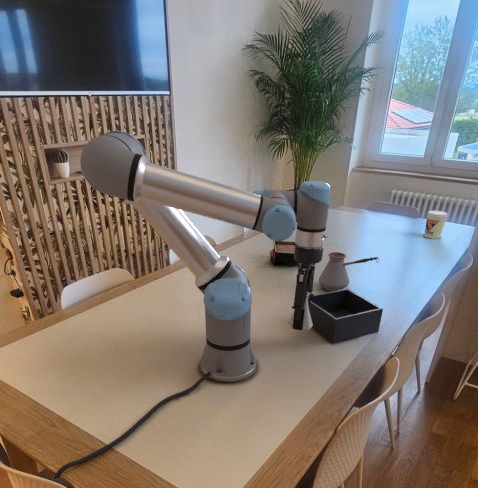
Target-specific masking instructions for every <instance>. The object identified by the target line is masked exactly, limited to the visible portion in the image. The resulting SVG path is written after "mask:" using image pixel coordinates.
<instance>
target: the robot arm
mask: <svg viewBox="0 0 478 488" xmlns="http://www.w3.org/2000/svg"><path fill="white" fill-rule="evenodd" d="M79 159H80V160H79V162H80V170H81V172H82V176H83V178H84V179H85V180H86V182H87V183H88V184H89V186H91V187H92V188H93V189H94V190H96V191H97V192H99V193H102V194H103V195H107V196H110V197H114V198H118V200H119V201H120V202H121V203H122V204H127V205H131V206H133V207H134V209H135V210H136V211H137V212H138V213H139V214H140V215H141V217H142V218H143V219H144V220H145V221H146V222H147V223H148V225H149V226H150V227H151V228H152V229H153V230H154V232H155V233H156V234H157V235H158V236H159V237H160V238H161V239H162V241H163V242H164V243H165V244H166V245H167V246H168V247H169V249H170V250H171V251H172V252H173V253H174V254H175V255H176V256H177V257H178V259H179V260H180V261H181V262H182V263H183V264H184V266H185V267H186V268H187V269H188V270H189V272H190V273H192V275H193V276H194V277H195V281H194V285H195V286H196V287H197V288H198V290H199V291H200V292H201V293H202V294H203V295H204V296H203V305H204V318H205V319H204V321H205V322H204V323H205V346H204V348H203V351H202V355H201V357H200V362H199V363H200V371H201V373H202V374H203V376H202V377H200V378H199V379H197V381H196V382H195V383H194V384H192V385H191V386H190V387H188V388H186V389H185V390H183V391H180V392H178V393H175V394H172V395H170V396H167V397H166V398H163V399H162V400H160V401H159V402H158V403H157V404H156V405H154V406H153V407H152V408H151V409H149V411H147V413H146V414H145V415H144V416H142V417H141V418H140V419H139V420H138V421H136V423H134V424H133V425H132V426H130V428H128V430H127V431H125V432H124V433H123V434H121V435H120V436H119V437H116V438H115V439H114V440H113V441H111V442H110V443H108V444H106V445H104V446H103V447H101V448H99V449H98V450H95V451H94V452H92V453H90V454H88V455H86V456H84V457H82V458H79V459H76V460H73V461H70V462H67V463H65V464H63V465H62V466H61V467H60V468H59V469H58V470H57V471H56V473H55V474H54V476H53V479H55V480H56V479H59V478H60V477H61V475H62V474H64V472H65V471H66V470H67V469H70V468H72V467H75V466H78V465H81V464H83V463H86V462H88V461H90V460H91V459H93V458H95V457H97V456H99V455H101V454H103V453H104V452H106V451H108V450H110V449H112V448H113V447H115V446H116V445H118V444H119V443H121V442H122V441H123V440H124V439H126V438H127V437H128V436H130V435H131V434H132V433H133V432H134V431H136V429H138V428H139V427H140V426H141V425H142V424H143V423H144V422H145V421H146V420H148V419H149V418H150V417H151V415H153V414H154V413H155V412H156V411H157V410H158V409H159V408H161V407H162V406H163V405H165V404H166V403H168V402H169V401H172V400H174V399H176V398H179V397H182V396H184V395H187V394H188V393H190V392H193V391H194V390H195V389H197V388H198V386H200V385H201V384H202V383H203V382H204V381H205V380H206V379H207V378H208V379H209V380H212V381H214V382H219V383H225V384H226V383H228V384H229V383H238V382H243V381H245V380H247V379H249V378H251V377H252V376H253V375H254V374H255V373H256V371H257V359H256V355H255V353H254V349H253V346H252V344H251V330H252V329H251V328H252V327H251V325H252V305H253V297H252V291H251V286H250V280H249V278H248V275H247V274H246V272H245V270H243V269H242V268H241V267H240V266H238V265H236V264H234V263H233V262H232V260H231V259H230V258H229V257H228V256H227V255H219V253H218V252H217V251H216V250H215V249H214V248H213V246H212V245H211V244H210V243H209V241H208V240H207V239H206V237H204V235H203V234H202V233H201V232H200V231H199V229H198V228H197V227H196V225H195V224H194V223H193V222H192V221H191V220H190V218H189V217H188V216H187V215H186V213H185V212H187V213H191V214H195V215H197V216H202V217H206V218H210V219H212V220H216V221H220V222H223V223H226V224H231V225H234V226H237V227H242V228H245V229H249V230H252V231H255V232H259V233H261V234H264V235H265V236H266V237H267V239H270V240H271V241H287V240H288V239H289V238H291V236H292V235H293V234H294V232H295V239H294V241H295V243H296V245H295V250H294V259H295V260H296V261H298V262H300V267H298V268H297V274H296V283H295V292H294V298H293V299H294V300H293V305H292V306H291V309H293V310H294V311H293V312H294V320H293V328H292V330H297V331H303V330H302V329H303V321H304V312H305V308H304V305H305V299H306V294H307V292H309V294H310V295H309V296H308V307H310V299H311V298H309V297H313V296H314V295H315V294H314V293H313V291H314V289H313V288H314V279H315V271H316V264H319V263H320V262H322V260H323V255H324V254H323V253H324V247H323V246H324V245H325V239H327V238H328V234H327V233H326V229H327V223H328V217H329V216H328V215H329V208H330V205H331V203H330V200H331V186H330V184H329V183H327V182H325V181H320V180H319V181H318V180H305V181H302V182H301V183H300V185H299V186H300V187H299V189H296V190H286V189H285V190H284V189H283V190H281V189H280V190H279V189H268V188H265V189H255V190H253V191H252V192H250V191H247V190H243V189H241V188H237V187H233V186H231V185H226V184H223V183H220V182H216V181H213V180H210V179H206V178H204V177H199V176H196V175H193V174H190V173H186V172H183V171H179V170H176V169H173V168H170V167H165V166H162V165H159V164H156V163H152V162H151V161H150V160H149V158H148V157H147V154H146V151H145V149H144V147H143V145H142V143H141V142H140V141H139V140H138V139H137V138H136V137H135V136H134V135H132V134H130V133H128V132H125V131H120V130H111V131H107V132H105V133H103V134H102V135H98V136H96V137H93V138H92V139H90V140H89V141H88V142H86V144H85V145H84V147H83V148H82V150H81V154H80V158H79Z"/></svg>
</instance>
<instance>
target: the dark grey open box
mask: <svg viewBox="0 0 478 488" xmlns="http://www.w3.org/2000/svg"><path fill="white" fill-rule="evenodd" d="M309 298H311V299H310V307H309V312H310V316H311V320H312V323H313V326H312V327H311V328H310V329H312V330H313V331H315V332H317V333H318V334H320V335H321V336H322V337H323V338H324V339H326V340H327V341H328V342H330V344H336V343H341V342H344V341H348V340H353V339H357V338H360V337H363V336H369V335H371V334H376V333H379V330H380V326H381V322H382V321H381V320H382V317H383V311H384V308H383V307H381V306H380V305H377V304H376V303H374V302H372V301H370V300H368V299H367V298H365V297H364V296H362V295H360V294H358V293H356V292H354V291H353V290H351V289H349V288H347V287H346V288H344V289H342V290H337V291H328V292H323V293H322V292H321V293H318V294H314V296H313V297H309Z"/></svg>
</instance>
